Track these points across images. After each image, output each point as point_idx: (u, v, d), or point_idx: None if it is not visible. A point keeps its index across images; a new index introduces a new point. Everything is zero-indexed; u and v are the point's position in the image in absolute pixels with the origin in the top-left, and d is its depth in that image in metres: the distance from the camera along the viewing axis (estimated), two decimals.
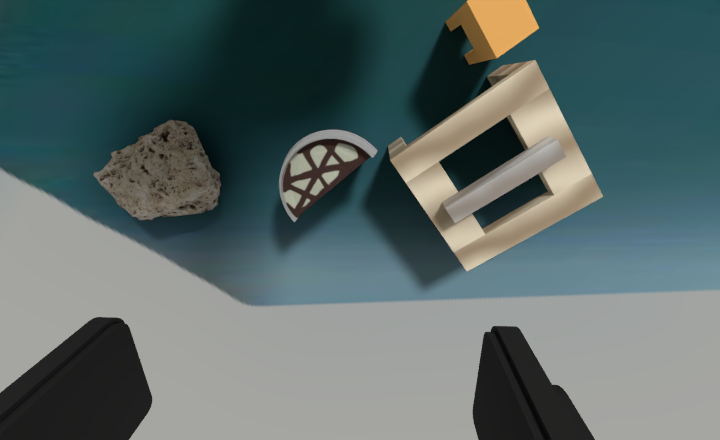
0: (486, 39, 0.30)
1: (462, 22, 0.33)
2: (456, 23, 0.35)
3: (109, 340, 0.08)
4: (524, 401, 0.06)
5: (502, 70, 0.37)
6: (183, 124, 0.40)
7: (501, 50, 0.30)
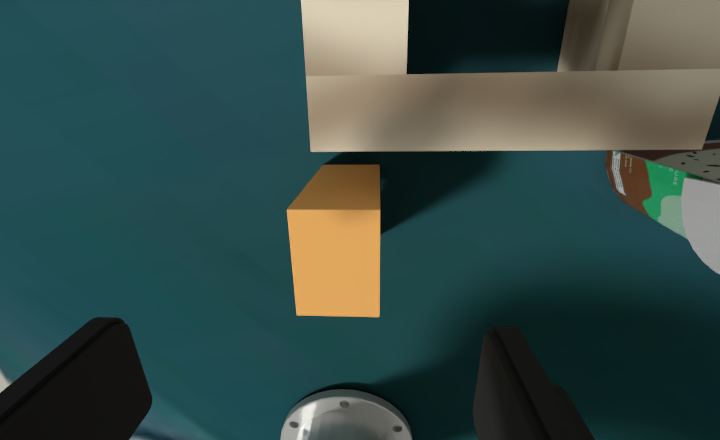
0: (379, 247, 0.15)
1: None
2: None
3: (109, 340, 0.08)
4: (524, 401, 0.06)
5: None
6: None
7: (366, 217, 0.14)
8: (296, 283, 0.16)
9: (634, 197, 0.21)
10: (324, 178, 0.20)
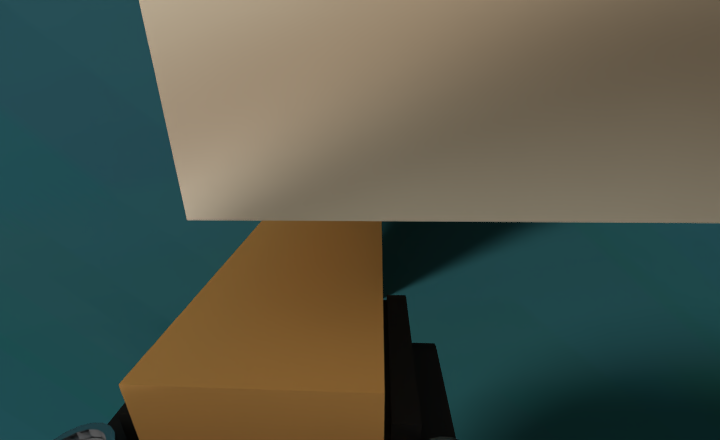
0: None
1: None
2: None
3: None
4: (385, 349, 0.07)
5: None
6: None
7: (345, 409, 0.05)
8: None
9: None
10: (276, 231, 0.10)
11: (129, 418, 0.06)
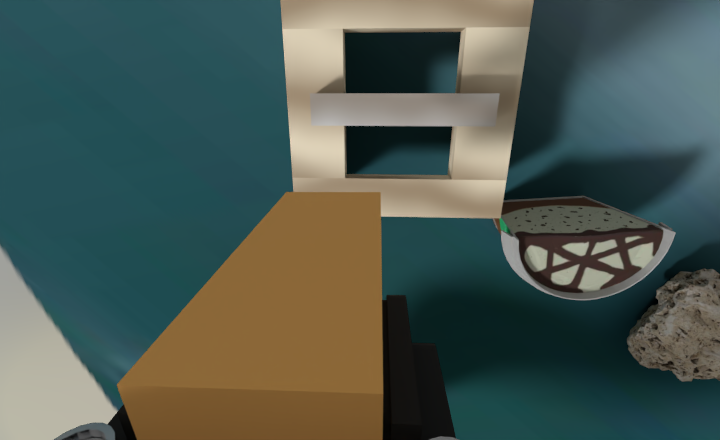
0: None
1: None
2: None
3: None
4: (384, 349, 0.07)
5: None
6: (633, 351, 0.36)
7: (344, 408, 0.05)
8: None
9: None
10: (275, 231, 0.10)
11: None
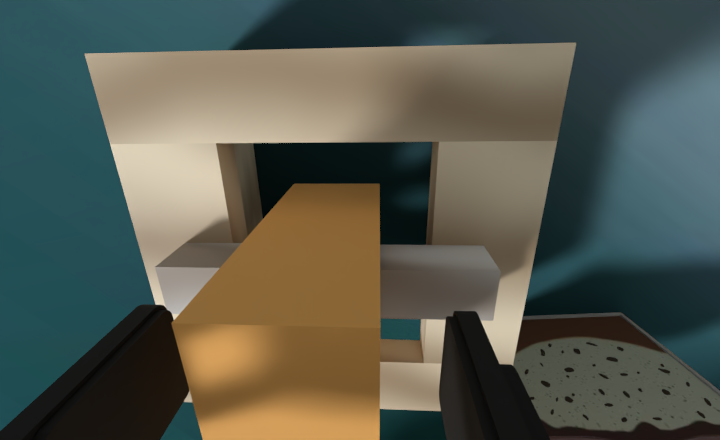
0: (379, 391, 0.07)
1: None
2: None
3: (156, 325, 0.09)
4: (471, 375, 0.07)
5: None
6: None
7: (349, 341, 0.06)
8: None
9: None
10: (286, 215, 0.12)
11: None
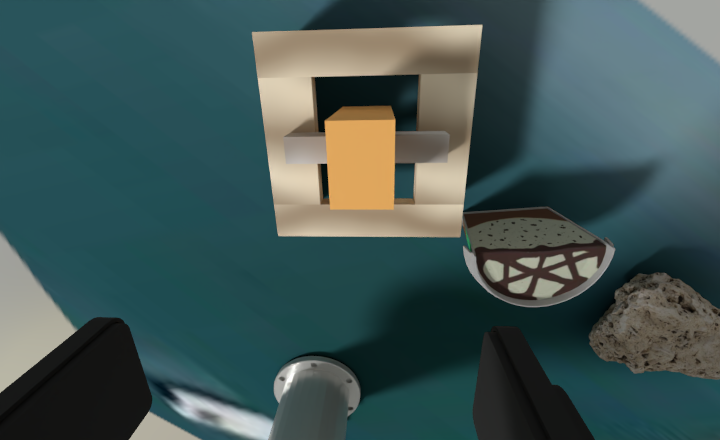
0: (394, 151, 0.20)
1: None
2: None
3: (109, 340, 0.08)
4: (524, 401, 0.06)
5: None
6: (594, 346, 0.39)
7: (385, 125, 0.19)
8: (330, 182, 0.21)
9: None
10: (347, 111, 0.24)
11: None
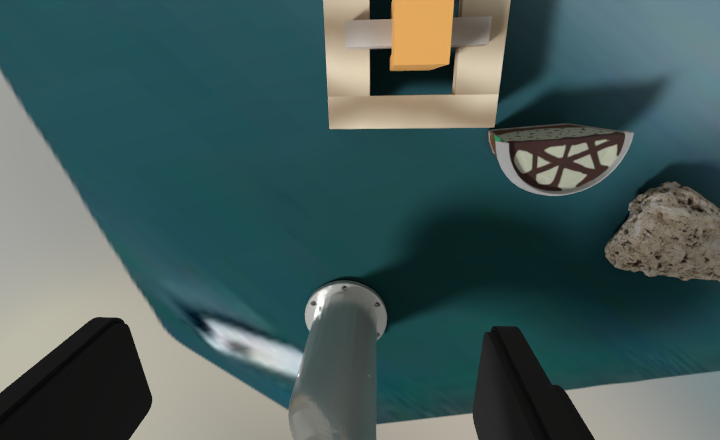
0: (452, 7, 0.23)
1: None
2: None
3: (109, 340, 0.08)
4: (524, 401, 0.06)
5: None
6: (609, 257, 0.43)
7: None
8: (396, 37, 0.24)
9: (496, 155, 0.40)
10: None
11: None
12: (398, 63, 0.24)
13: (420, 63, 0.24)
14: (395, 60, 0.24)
